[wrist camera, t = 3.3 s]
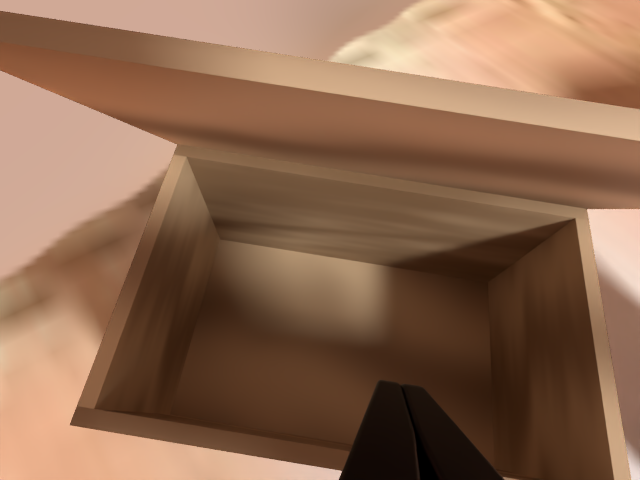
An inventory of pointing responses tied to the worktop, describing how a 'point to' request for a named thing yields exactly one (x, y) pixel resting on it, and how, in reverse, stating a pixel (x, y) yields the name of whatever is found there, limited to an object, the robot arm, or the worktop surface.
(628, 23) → the worktop surface
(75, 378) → the worktop surface
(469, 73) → the worktop surface
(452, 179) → the flap
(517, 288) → the light wood open box
